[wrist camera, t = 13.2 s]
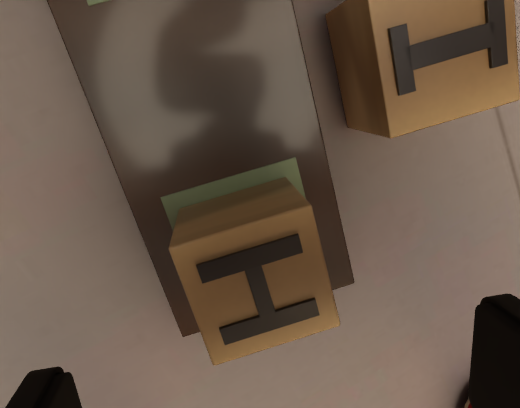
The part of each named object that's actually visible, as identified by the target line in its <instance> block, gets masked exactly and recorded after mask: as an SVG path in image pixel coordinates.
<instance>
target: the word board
mask: <svg viewBox="0 0 520 408" xmlns="http://www.w3.org/2000/svg"><path fill="white" fill-rule="evenodd" d="M47 2H48V4H49V7H50V9H51V12H52V14H53V16H54V19H55V21H56V24H57V26H58V29H59V31H60V34H61V36H62V39H63V41H64V44H65V46H66V49H67V51H68V54H69V56H70V59H71V61H72V64H73V66H74V69H75V71H76V73H77V76H78V78H79V81H80V83H81V86H82V88H83V91H84V93H85V96H86V98H87V101H88V103H89V106H90V108H91V111H92V113H93V116H94V118H95V121H96V123H97V126H98V128H99V131H100V133H101V135H102V138H103V140H104V143H105V145H106V148H107V150H108V153H109V155H110V158H111V160H112V163H113V165H114V168H115V170H116V173H117V175H118V178H119V180H120V183H121V185H122V188H123V190H124V193H125V195H126V197H127V200H128V202H129V205H130V207H131V210H132V212H133V215H134V217H135V220H136V222H137V225H138V227H139V230H140V232H141V235H142V237H143V240H144V242H145V245H146V247H147V250H148V252H149V255H150V257H151V259H152V262H153V264H154V267H155V269H156V272H157V274H158V277H159V279H160V282H161V284H162V287H163V289H164V292H165V294H166V297H167V299H168V302H169V304H170V307H171V309H172V312H173V314H174V317H175V319H176V321H177V324H178V326H179V329H180V331H181V334H182V336H183V337H185V336H188V335H191V334H194V333H197V332H200V330H199V327H198V324H197V322H196V319H195V317H194V314H193V311H192V309H191V306H190V304H189V301H188V298H187V296H186V293H185V291H184V288H183V285H182V283H181V280H180V278H179V275H178V272H177V270H176V267H175V265H174V262H173V259H172V257H171V254H170V252H169V245H170V241H171V237H172V234H173V230H174V226H175V223H176V219H177V215H178V212H179V209H180V208H183V207H187V206H190V205H193V204H197V203H200V202H203V201H207V200H210V199H213V198H216V197H220V196H223V195H226V194H230V193H233V192H236V191H240V190H243V189H246V188H250V187H253V186H256V185H260V184H263V183H266V182H270V181H273V180H276V179H280V178H283V177H286V178H287V179H288V180H289V181H290V182H291V183H292V184H293V185H294V187H295V188H296V189H297V190H298V191H299V192H300V193H301V194H302V195H303V197H304V198H305V199H306V200H307V201H308V202H309V203H310V204H311V206H312V210H313V214H314V218H315V222H316V226H317V230H318V234H319V238H320V242H321V246H322V250H323V255H324V259H325V263H326V267H327V271H328V275H329V279H330V283H331V287H332V290H334V289H337V288H340V287H344V286H347V285H350V284H353V283H354V278H353V273H352V269H351V264H350V260H349V255H348V251H347V246H346V242H345V237H344V233H343V228H342V224H341V219H340V215H339V210H338V206H337V201H336V196H335V192H334V187H333V183H332V178H331V174H330V169H329V165H328V160H327V156H326V151H325V147H324V142H323V138H322V133H321V129H320V124H319V120H318V115H317V111H316V106H315V102H314V97H313V93H312V88H311V84H310V79H309V75H308V70H307V66H306V61H305V57H304V52H303V48H302V43H301V39H300V34H299V29H298V25H297V20H296V16H295V11H294V7H293V2H292V0H47Z"/></svg>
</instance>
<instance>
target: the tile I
mask: <svg viewBox="0 0 520 408" xmlns="http://www.w3.org/2000/svg"><path fill="white" fill-rule="evenodd" d="M325 16H326V21H327V26H328V31H329V36H330V41H331V46H332V51H333V56H334V61H335V66H336V71H337V76H338V81H339V86H340V91H341V96H342V101H343V106H344V111H345V116H346V121H347V126H348V128H352V129H356V130H360V131H364V132H368V133H372V134H376V135H380V136H384V137H388V138H394V137H397V136H401V135H404V134H407V133H411V132H414V131H417V130H421V129H424V128H427V127H431V126H434V125H437V124H441V123H444V122H447V121H451V120H454V119H457V118H461V117H464V116H467V115H471V114H474V113H477V112H481V111H484V110H487V109H491V108H494V107H497V106H501V105H504V104H508V103H511V102H514V101H518V100H519V99H520V94H519V77H518V59H517V42H516V24H515V6H514V0H346V1H344V2H343V3H342V4H340V5H339V6H337V7H336V8H334V9H333V10H331V11H330V12H328V13H327V14H326V15H325Z"/></svg>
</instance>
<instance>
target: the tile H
mask: <svg viewBox="0 0 520 408" xmlns="http://www.w3.org/2000/svg"><path fill="white" fill-rule="evenodd" d="M169 252H170V254H171V257H172V259H173V262H174V265H175V267H176V270H177V272H178V275H179V278H180V280H181V283H182V285H183V288H184V291H185V293H186V296H187V298H188V301H189V304H190V306H191V309H192V311H193V314H194V317H195V319H196V322H197V324H198V327H199V330H200V332H201V335H202V338H203V340H204V343H205V345H206V348H207V351H208V353H209V356H210V358H211V361H212V364H213V365H218V364H221V363H224V362H227V361H230V360H234V359H237V358H240V357H243V356H246V355H249V354H252V353H256V352H259V351H262V350H265V349H268V348H271V347H274V346H278V345H281V344H284V343H287V342H290V341H293V340H296V339H299V338H303V337H306V336H309V335H312V334H315V333H318V332H321V331H325V330H328V329H331V328H334V327H337V326H339V325H340V320H339V316H338V312H337V308H336V304H335V300H334V295H333V291H332V287H331V283H330V279H329V275H328V271H327V267H326V263H325V259H324V255H323V250H322V246H321V242H320V238H319V234H318V230H317V226H316V222H315V218H314V214H313V210H312V206H311V204H310V203H309V202H308V201H307V200H306V199H305V198H304V197H303V195H302V194H301V193H300V192H299V191H298V190H297V189H296V188H295V187H294V185H293V184H292V183H291V182H290V181H289V180H288V179H287V178H286V177H283V178H280V179H276V180H273V181H270V182H266V183H263V184H260V185H256V186H253V187H250V188H246V189H243V190H240V191H236V192H233V193H230V194H226V195H223V196H220V197H216V198H213V199H210V200H207V201H203V202H200V203H197V204H193V205H190V206H187V207H183V208H180V209H179V212H178V215H177V219H176V223H175V226H174V230H173V234H172V237H171V241H170V245H169Z"/></svg>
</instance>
